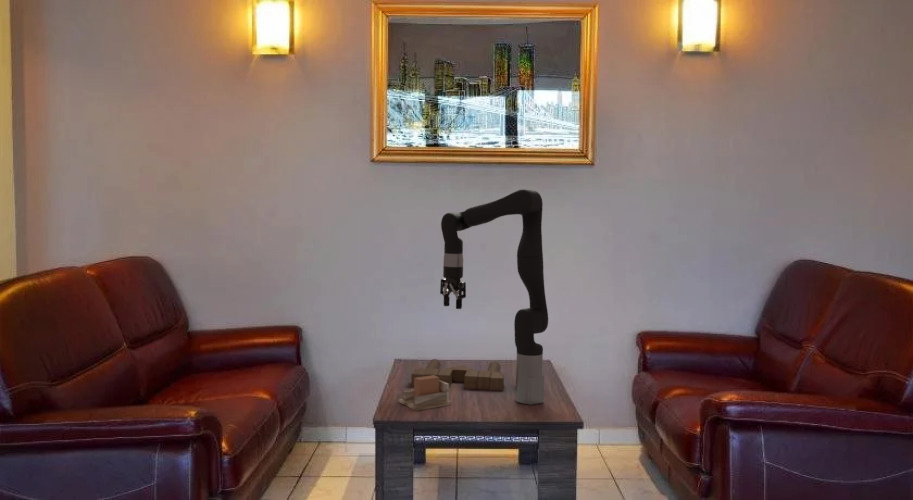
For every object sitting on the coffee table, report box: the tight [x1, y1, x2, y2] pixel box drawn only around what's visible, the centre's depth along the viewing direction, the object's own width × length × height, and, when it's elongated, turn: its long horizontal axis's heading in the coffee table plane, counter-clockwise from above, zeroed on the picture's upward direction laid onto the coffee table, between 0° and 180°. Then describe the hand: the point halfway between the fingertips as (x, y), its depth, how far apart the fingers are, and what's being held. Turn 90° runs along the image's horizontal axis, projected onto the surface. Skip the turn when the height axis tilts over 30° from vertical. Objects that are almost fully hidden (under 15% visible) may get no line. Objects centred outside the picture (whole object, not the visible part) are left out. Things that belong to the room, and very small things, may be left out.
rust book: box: [413, 375, 439, 396], centre depth 241 cm, size 4×8×8 cm, turn 124°
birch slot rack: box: [398, 380, 452, 411], centre depth 241 cm, size 12×14×7 cm
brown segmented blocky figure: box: [410, 358, 505, 391], centre depth 276 cm, size 35×6×29 cm
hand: (452, 307), depth 264 cm, fingers open, 8 cm apart
